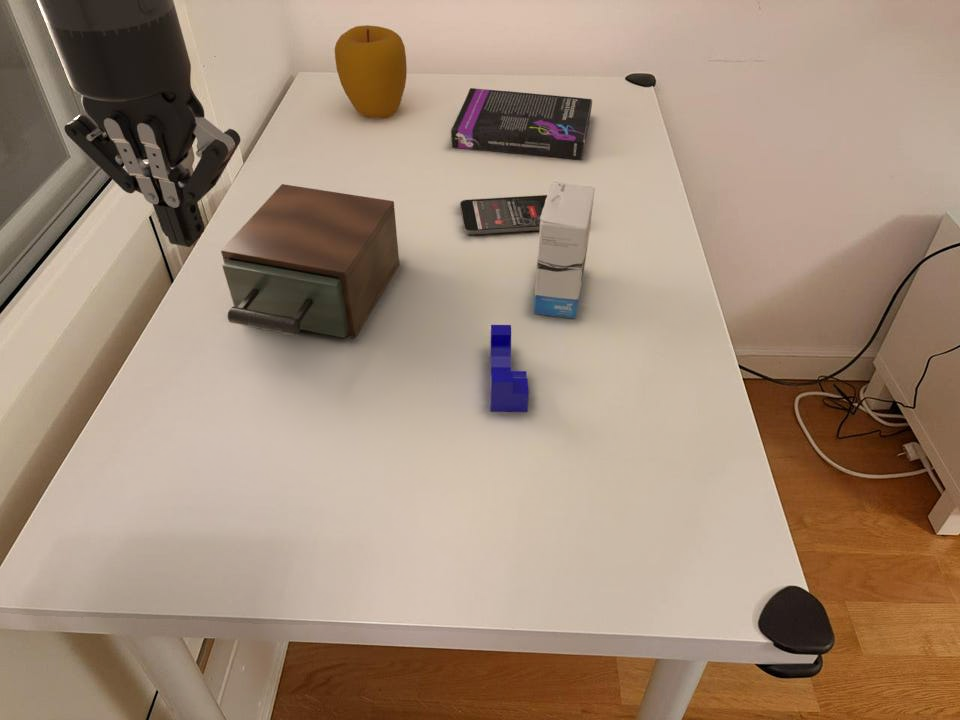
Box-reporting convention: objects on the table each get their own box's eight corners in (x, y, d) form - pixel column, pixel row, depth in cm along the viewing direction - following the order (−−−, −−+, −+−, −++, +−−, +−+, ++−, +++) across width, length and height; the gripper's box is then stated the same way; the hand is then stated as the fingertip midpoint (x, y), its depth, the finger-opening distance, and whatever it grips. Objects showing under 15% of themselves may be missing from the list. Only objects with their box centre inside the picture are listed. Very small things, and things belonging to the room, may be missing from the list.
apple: (332, 105, 117) (319, 22, 108) (393, 92, 121) (387, 10, 112) (356, 133, 110) (345, 47, 101) (421, 118, 114) (416, 34, 105)
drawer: (325, 369, 72) (315, 316, 67) (214, 346, 74) (196, 294, 70) (387, 268, 84) (382, 218, 79) (289, 251, 86) (278, 201, 82)
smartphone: (584, 223, 91) (465, 231, 90) (583, 228, 91) (465, 236, 90) (572, 193, 96) (459, 200, 95) (571, 198, 97) (459, 204, 95)
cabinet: (355, 338, 77) (345, 272, 71) (239, 315, 79) (220, 250, 73) (399, 264, 86) (394, 200, 80) (295, 246, 89) (281, 183, 83)
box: (450, 150, 107) (583, 161, 104) (449, 128, 105) (585, 139, 102) (470, 108, 117) (592, 117, 114) (469, 87, 114) (594, 95, 111)
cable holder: (527, 411, 69) (529, 382, 66) (490, 411, 69) (491, 382, 66) (524, 354, 75) (526, 325, 72) (490, 354, 75) (490, 324, 72)
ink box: (576, 320, 79) (588, 228, 71) (531, 314, 79) (538, 222, 71) (584, 274, 85) (596, 184, 77) (542, 268, 85) (549, 179, 77)
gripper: (236, -6, 46) (286, 227, 58) (57, -24, 48) (141, 203, 60) (169, 36, 41) (239, 282, 53) (-27, 14, 43) (82, 254, 55)
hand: (186, 239), depth 56 cm, fingers closed
